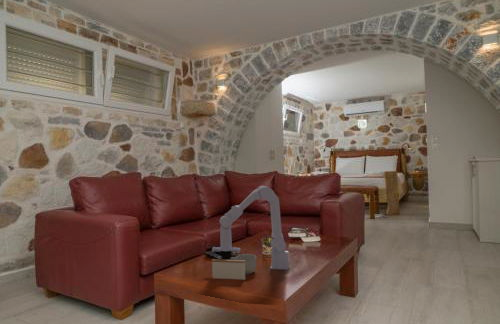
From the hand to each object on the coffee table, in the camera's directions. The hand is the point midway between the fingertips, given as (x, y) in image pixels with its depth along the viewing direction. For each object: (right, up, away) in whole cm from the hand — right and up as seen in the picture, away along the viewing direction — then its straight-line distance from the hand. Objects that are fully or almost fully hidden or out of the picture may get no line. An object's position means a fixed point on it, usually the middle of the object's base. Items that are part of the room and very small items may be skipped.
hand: (226, 265), depth 171 cm
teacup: (+9, -3, -2) cm, 9 cm away
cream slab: (+2, -3, -11) cm, 11 cm away
